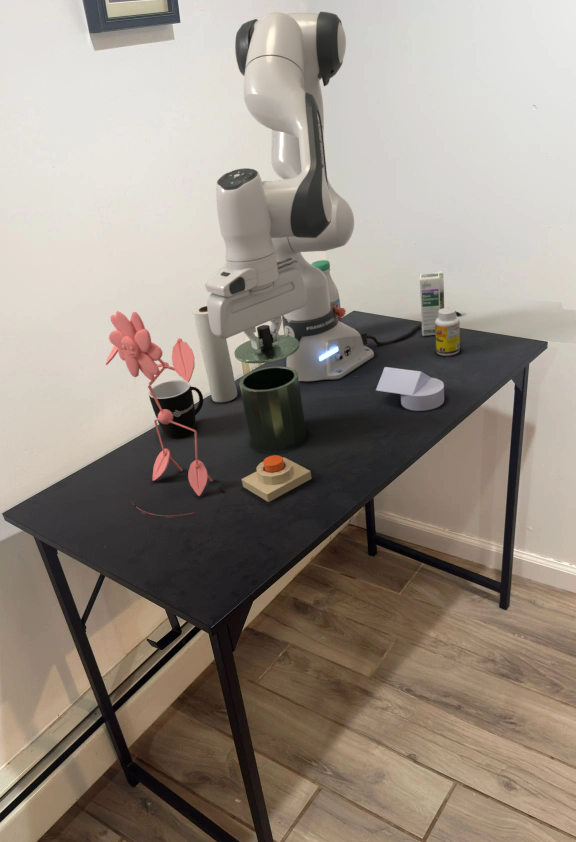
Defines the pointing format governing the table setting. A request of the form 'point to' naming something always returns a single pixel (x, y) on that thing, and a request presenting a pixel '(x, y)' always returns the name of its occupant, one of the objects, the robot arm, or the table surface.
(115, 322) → the figurine
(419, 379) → the wedge on round base
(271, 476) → the switch base
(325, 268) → the milk bottle
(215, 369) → the paper towel roll
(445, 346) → the supplement bottle
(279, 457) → the power button
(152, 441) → the table surface
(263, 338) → the kettle lid
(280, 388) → the dark green cylinder
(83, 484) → the table surface
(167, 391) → the mug
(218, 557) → the table surface
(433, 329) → the syrup box
